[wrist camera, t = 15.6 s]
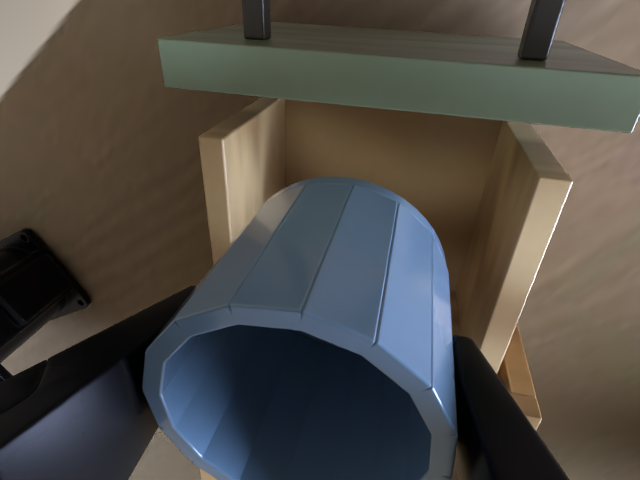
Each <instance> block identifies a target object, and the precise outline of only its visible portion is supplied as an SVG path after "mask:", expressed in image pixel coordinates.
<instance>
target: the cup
mask: <svg viewBox="0 0 640 480" xmlns="http://www.w3.org/2000/svg"><path fill="white" fill-rule="evenodd" d="M142 389H143V393H144V395H145V398H146V400H147V402H148V404H149V407H150V409H151V411H152V413H153V416H154V418H155V420H156V422H157V425H158V426H159V427H160V429H161V430H162V431H163V433H164V434H165V435H166V436H167V437H168V438H169V439H170V440H171V441H172V442H173V443H174V444H175V446H176V447H177V448H178V449H179V450H180V451H181V452H182V453H183V454H184V455H185V456H186V457H187V459H188V460H190V461H191V462H192V463H193V464H195V465H196V466H198V467H199V468H201V469H202V470H204V471H205V472H207V473H208V474H210V475H211V476H213V477H214V478H216V479H217V480H450V479H451V477H452V476H453V471H454V463H455V455H456V448H457V440H458V428H457V411H456V393H455V376H454V358H453V341H452V324H451V306H450V289H449V273H448V268H447V266H446V260H445V254H444V251H443V248H442V245H441V242H440V240H439V239H438V237H437V235H436V233H435V231H434V229H433V228H432V227H431V225H430V224H429V222H428V221H427V220H426V218H425V217H424V216H423V215H422V214H421V213H420V212H419V211H418V210H417V209H416V208H415V207H414V206H412V205H411V204H410V203H409V202H407V201H406V200H405V199H403V198H402V197H400V196H399V195H397V194H395V193H394V192H392V191H390V190H388V189H386V188H383V187H381V186H379V185H377V184H373V183H370V182H367V181H364V180H359V179H354V178H349V177H335V176H332V177H318V178H313V179H307V180H303V181H300V182H297V183H294V184H292V185H290V186H288V187H286V188H284V189H282V190H280V191H279V192H277V193H276V194H274V195H273V196H272V197H270V198H269V199H268V200H267V201H266V202H265V203H264V204H263V205H262V206H261V207H260V209H259V210H258V211H257V212H256V214H255V215H254V216H253V217H252V218H251V219H250V220H249V222H248V223H247V224H246V225H245V226H244V227H243V229H242V230H241V231H240V232H239V234H238V235H237V236H236V237H235V239H234V240H233V241H232V242H231V244H230V245H229V246H228V247H227V249H226V250H225V251H224V252H223V254H222V255H221V256H220V257H219V259H218V260H217V261H216V262H215V264H214V265H213V266H212V267H211V269H210V270H209V271H208V272H207V274H206V275H205V276H204V277H203V279H202V280H201V281H200V282H199V284H198V285H197V286H196V287H195V289H194V290H193V291H192V292H191V294H190V295H189V296H188V297H187V299H186V300H185V301H184V302H183V304H182V305H181V306H180V308H179V309H178V310H177V311H176V313H175V314H174V315H173V316H172V318H171V319H170V320H169V321H168V323H167V324H166V325H165V326H164V328H163V329H162V330H161V331H160V333H159V334H158V335H157V336H156V338H155V339H154V340H153V341H152V343H151V344H150V345H149V346H148V348H147V349H146V352H145V359H144V370H143V382H142Z"/></svg>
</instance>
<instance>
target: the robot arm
mask: <svg viewBox="0 0 640 480" xmlns="http://www.w3.org/2000/svg"><path fill="white" fill-rule="evenodd" d="M195 287H196V286H190V287H187V288H185V289H184V290H182V291H180V292H178V293H176V294H174V295H172V296H170V297H168V298H166V299H164V300H162V301H160V302H158V303H156V304H154V305H152V306H150V307H148V308H146V309H144V310H142V311H140V312H138V313H136V314H134V315H133V316H131V317H129V318H127V319H125V320H123V321H121V322H119V323H117V324H115V325H113V326H111V327H109V328H107V329H105V330H103V331H101V332H99V333H97V334H95V335H93V336H91V337H89V338H87V339H85V340H83V341H81V342H80V343H78V344H76V345H74V346H72V347H70V348H68V349H66V350H64V351H62V352H60V353H58V354H56V355H54V356H52V357H50V358H49V359H48V361H47V360H44V361H42V362H40V363H38V364H36V365H34V366H32V367H30V368H28V369H26V370H24V371H22V372H20V373H18V374H16V375H14V376H12V375H11V374H10V373H9V372H8V371H7V370H6V369H5V368H4V367H3V366H2V365H1V364H0V480H128V479H129V477H130V475H131V474H132V472H133V470H134V468H135V467H136V465H137V463H138V461H139V460H140V458H141V456H142V454H143V453H144V451H145V449H146V448H147V446H148V444H149V442H150V441H151V439H152V437H153V435H154V434H155V432H156V430H157V428H158V427H159V426H158V425H157V422H156V420H155V418H154V416H153V413H152V411H151V409H150V407H149V404H148V402H147V400H146V398H145V395H144V393H143V389H142V382H143V370H144V359H145V352H146V349H147V348H148V346H149V345H150V344H151V343H152V341H153V340H154V339H155V338H156V336H157V335H158V334H159V333H160V331H161V330H162V329H163V328H164V326H165V325H166V324H167V323H168V321H169V320H170V319H171V318H172V316H173V315H174V314H175V313H176V311H177V310H178V309H179V308H180V306H181V305H182V304H183V302H184V301H185V300H186V299H187V297H188V296H189V295H190V294H191V292H192V291H193V290H194V289H195ZM90 303H91V299H90V298H89V296H88V295H87V294H86V293H85V292H84V291H83V290H82V288H81V287H80V286H79V285H78V284H77V283H76V281H75V280H74V279H73V278H72V277H71V276H70V275H69V273H68V272H67V271H66V270H65V269H64V268H63V266H62V265H61V264H60V263H59V262H58V261H57V259H56V258H55V257H54V256H53V255H52V254H51V253H50V251H49V250H48V249H47V248H46V247H45V246H44V244H43V243H42V242H41V241H40V240H39V239H38V237H37V236H36V235H35V234H34V233H33V232H32V231H31V230H29V229H23V230H21V231H19V232H17V233H15V234H13V235H11V236H10V237H8V238H6V239H4V240H2V241H0V363H1V362H2V361H3V360H5V359H6V358H7V357H8V356H9V355H10V354H12V353H13V352H14V351H15V350H16V349H17V348H18V347H20V346H21V345H22V344H23V343H24V342H25V341H27V340H28V339H29V338H30V337H31V336H32V335H34V334H35V333H36V332H37V331H38V330H39V329H41V328H42V327H43V326H44V325H45V324H46V323H47V322H49V321H50V320H53V319H56V318H58V317H61V316H64V315H67V314H70V313H73V312H75V311H78V310H81V309H84V308H86V307H87V306H88V305H89V304H90ZM452 341H453V358H454V376H455V393H456V411H457V428H458V440H457V448H456V455H455V463H454V471H453V476H452V477H451V479H450V480H569V478H568V477H567V475H566V474H565V472H564V471H563V469H562V468H561V467H560V465H559V464H558V462H557V461H556V459H555V458H554V456H553V455H552V453H551V452H550V451H549V449H548V448H547V446H546V445H545V443H544V442H543V440H542V439H541V437H540V436H539V435H538V433H537V432H536V430H535V429H534V427H533V426H532V424H531V423H530V422H529V420H528V419H527V417H526V416H525V414H524V413H523V411H522V410H521V408H520V407H519V406H518V404H517V403H516V401H515V400H514V398H513V397H512V395H511V394H510V392H509V391H508V390H507V388H506V387H505V385H504V384H503V382H502V381H501V379H500V378H499V376H498V375H497V374H496V372H495V371H494V369H493V368H492V366H491V365H490V363H489V362H488V361H487V359H486V358H485V356H484V355H483V353H482V352H481V350H480V349H479V347H478V346H477V345H476V343H475V342H474V340H473V339H471V338H469V337H464V336H459V335H453V336H452Z"/></svg>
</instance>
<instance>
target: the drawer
mask: <svg viewBox="0 0 640 480" xmlns="http://www.w3.org/2000/svg"><path fill="white" fill-rule="evenodd" d="M564 3H565V0H532V2H531V5H530V9H529V13H528V17H527V20H526V24H525V28H524V31H523V35H522V38H510V37H495V36H480V35H464V34H449V33H434V32H419V31H404V30H388V29H373V28H358V27H343V26H328V25H313V24H297V23H282V22H271V9H270V0H242V8H243V24H238V25H232V26H226V27H220V28H214V29H208V30H203V31H197V32H191V33H185V34H179V35H173V36H167V37H161V38H158V40H157V41H158V47H159V54H160V61H161V67H162V74H163V81H164V86H165V87H169V88H179V89H189V90H199V91H209V92H219V93H229V94H239V95H250V96H260V97H261V98H259V99H258V100H256V101H255V102H253V103H251V104H250V105H248V106H247V107H245V108H243V109H242V110H240V111H239V112H237V113H235V114H234V115H232V116H230V117H229V118H227V119H226V120H224V121H222V122H221V123H219V124H218V125H216V126H214V127H213V128H211V129H210V130H208V131H206V132H205V133H203V134H202V135H200V136H199V138H198V139H199V148H200V156H201V165H202V174H203V182H204V191H205V199H206V208H207V217H208V225H209V234H210V243H211V251H212V260H213V265H214V264H215V262H216V261H217V260H218V259H219V257H220V256H221V255H222V254H223V252H224V251H225V250H226V249H227V247H228V246H229V245H230V244H231V242H232V241H233V240H234V239H235V237H236V236H237V235H238V234H239V232H240V231H241V230H242V229H243V227H244V226H245V225H246V224H247V223H248V222H249V220H250V219H251V218H252V217H253V216H254V215H255V214H256V212H257V211H258V210H259V209H260V207H261V206H262V205H263V204H264V203H265V202H266V201H267V200H268V199H269V198H270V197H272V196H273V195H274V194H276V193H277V192H279V191H280V190H282V189H284V188H286V187H288V186H290V185H292V184H294V183H297V182H300V181H303V180H307V179H313V178H318V177H332V176H335V177H349V178H354V179H359V180H364V181H367V182H370V183H373V184H377V185H379V186H381V187H383V188H386V189H388V190H390V191H392V192H394V193H395V194H397V195H399V196H400V197H402V198H403V199H405V200H406V201H407V202H409V203H410V204H411V205H412V206H414V207H415V208H416V209H417V210H418V211H419V212H420V213H421V214H422V215H423V216H424V217H425V218H426V220H427V221H428V222H429V224H430V225H431V227H432V228H433V229H434V231H435V233H436V235H437V237H438V239H439V240H440V242H441V245H442V248H443V251H444V254H445V260H446V266H447V268H448V273H449V289H450V306H451V324H452V336H453V335H459V336H464V337H469V338H471V339H473V340H474V342H475V343H476V345H477V346H478V347H479V349H480V350H481V352H482V353H483V355H484V356H485V358H486V359H487V361H488V362H489V363H490V365H491V366H492V368H493V369H494V371H495V372H496V374H497V373H498V370H499V368H500V365H501V363H502V360H503V358H504V355H505V352H506V350H507V347H508V345H509V342H510V340H511V337H512V335H513V332H514V330H515V327H516V325H517V322H518V320H519V317H520V315H521V312H522V309H523V307H524V304H525V302H526V299H527V297H528V294H529V292H530V289H531V287H532V284H533V282H534V279H535V277H536V274H537V272H538V269H539V266H540V264H541V261H542V259H543V256H544V254H545V251H546V249H547V246H548V244H549V241H550V239H551V236H552V234H553V231H554V229H555V226H556V223H557V221H558V218H559V216H560V213H561V211H562V208H563V206H564V203H565V201H566V198H567V196H568V193H569V191H570V188H571V186H572V183H573V180H572V179H571V178H570V176H569V175H568V174H567V172H566V171H565V170H564V168H563V167H562V166H561V164H560V163H559V162H558V160H557V159H556V158H555V156H554V155H553V154H552V152H551V151H550V150H549V148H548V147H547V146H546V144H545V143H544V142H543V140H542V139H541V138H540V136H539V135H538V134H537V132H536V131H535V130H534V128H533V127H532V126H531V124H530V123H532V124H542V125H552V126H563V127H573V128H583V129H593V130H603V131H613V132H623V133H632V132H633V130H634V127H635V125H636V123H637V121H638V118H639V116H640V70H638V69H635V68H632V67H630V66H627V65H624V64H622V63H619V62H616V61H614V60H611V59H609V58H606V57H603V56H601V55H598V54H595V53H593V52H590V51H587V50H585V49H582V48H579V47H577V46H574V45H572V44H569V43H566V42H564V41H555V40H553V39H554V36H555V33H556V29H557V26H558V23H559V20H560V16H561V13H562V10H563V7H564Z"/></svg>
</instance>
